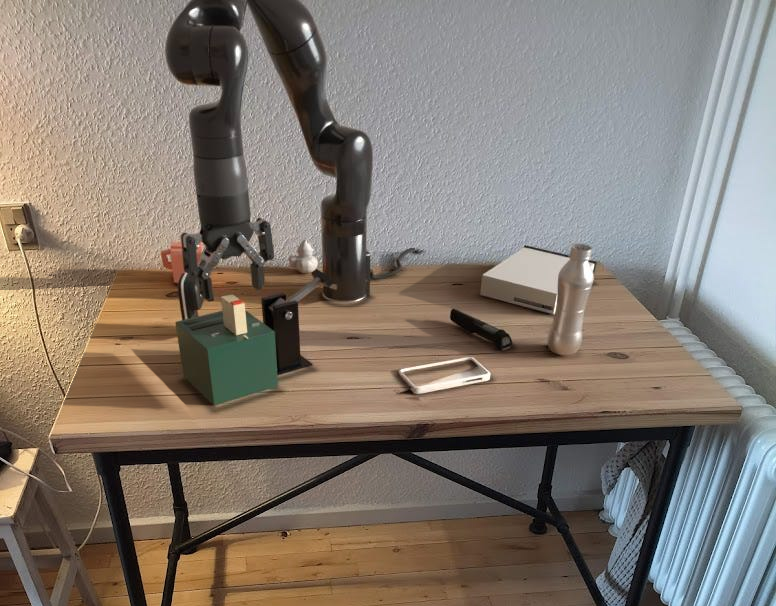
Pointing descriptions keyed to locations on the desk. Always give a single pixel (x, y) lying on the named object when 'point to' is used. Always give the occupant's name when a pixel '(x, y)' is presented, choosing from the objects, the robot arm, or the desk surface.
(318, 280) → the lever
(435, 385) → the phone case
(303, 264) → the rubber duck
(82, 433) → the desk surface
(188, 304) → the black computer mouse
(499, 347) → the electric trimmer
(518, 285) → the disc drive
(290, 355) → the black lever stand
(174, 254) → the pink cube teapot
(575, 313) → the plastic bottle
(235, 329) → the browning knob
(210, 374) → the toaster
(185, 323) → the toaster slots
